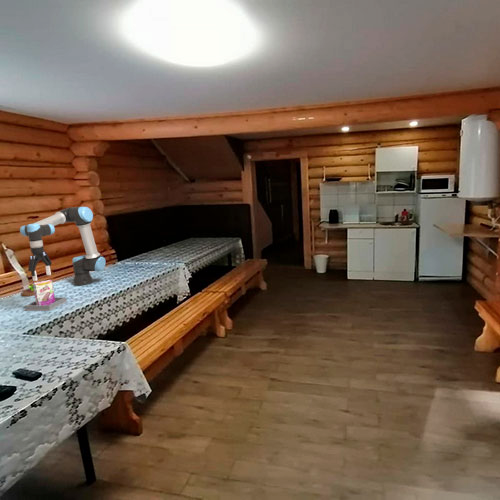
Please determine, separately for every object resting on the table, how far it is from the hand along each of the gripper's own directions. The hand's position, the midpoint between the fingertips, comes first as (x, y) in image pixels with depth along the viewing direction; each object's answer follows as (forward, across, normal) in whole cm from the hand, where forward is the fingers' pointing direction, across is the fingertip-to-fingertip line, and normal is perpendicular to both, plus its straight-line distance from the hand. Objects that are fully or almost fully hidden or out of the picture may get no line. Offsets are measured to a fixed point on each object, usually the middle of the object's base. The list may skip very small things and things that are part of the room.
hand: (42, 277), depth 259 cm
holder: (+20, 0, 0) cm, 20 cm away
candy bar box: (+19, +1, 0) cm, 19 cm away
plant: (+21, -33, -35) cm, 52 cm away
